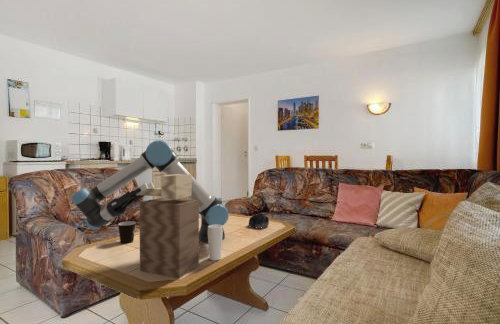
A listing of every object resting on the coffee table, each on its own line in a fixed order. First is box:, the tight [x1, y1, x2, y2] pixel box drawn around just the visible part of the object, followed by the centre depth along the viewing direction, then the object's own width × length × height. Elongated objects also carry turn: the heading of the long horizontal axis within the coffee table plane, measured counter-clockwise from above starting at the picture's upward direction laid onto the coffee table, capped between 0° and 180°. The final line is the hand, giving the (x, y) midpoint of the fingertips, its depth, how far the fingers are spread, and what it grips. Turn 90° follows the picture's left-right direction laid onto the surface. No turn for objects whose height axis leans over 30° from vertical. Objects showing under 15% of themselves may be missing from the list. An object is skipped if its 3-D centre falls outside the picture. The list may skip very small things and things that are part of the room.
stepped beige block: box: [132, 173, 193, 199], centre depth 117 cm, size 25×11×9 cm, turn 70°
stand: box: [139, 197, 200, 279], centre depth 115 cm, size 19×14×28 cm
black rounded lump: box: [248, 212, 270, 229], centre depth 185 cm, size 13×14×10 cm
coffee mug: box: [117, 221, 136, 245], centre depth 151 cm, size 12×9×10 cm
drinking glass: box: [207, 224, 224, 262], centre depth 126 cm, size 7×7×15 cm
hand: (149, 185), depth 118 cm, fingers closed on stepped beige block, 3 cm apart
